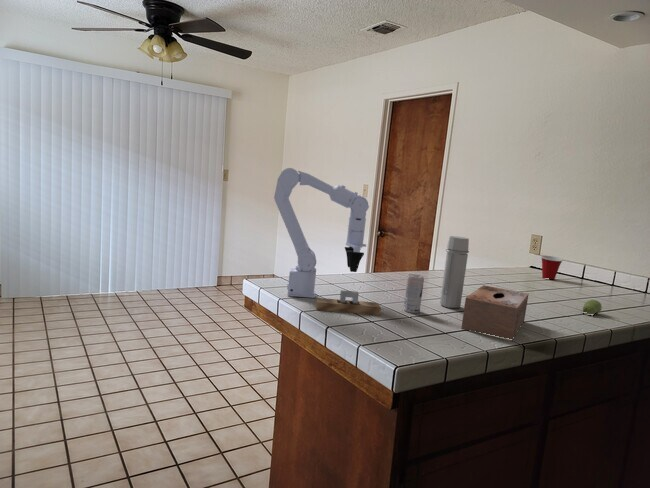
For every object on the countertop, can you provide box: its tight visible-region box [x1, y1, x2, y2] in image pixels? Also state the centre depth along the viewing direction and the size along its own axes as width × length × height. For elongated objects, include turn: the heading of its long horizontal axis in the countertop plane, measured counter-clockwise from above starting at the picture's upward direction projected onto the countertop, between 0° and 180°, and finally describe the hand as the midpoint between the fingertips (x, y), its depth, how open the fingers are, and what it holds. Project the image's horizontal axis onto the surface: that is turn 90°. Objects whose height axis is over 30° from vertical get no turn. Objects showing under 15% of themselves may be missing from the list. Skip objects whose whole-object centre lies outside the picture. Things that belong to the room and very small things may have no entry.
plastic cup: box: [540, 255, 564, 280], centre depth 242 cm, size 11×11×12 cm
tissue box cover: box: [461, 284, 529, 340], centre depth 142 cm, size 26×14×10 cm, turn 149°
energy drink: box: [403, 273, 425, 314], centre depth 149 cm, size 5×5×12 cm
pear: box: [581, 299, 603, 315], centre depth 171 cm, size 6×5×10 cm
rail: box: [315, 297, 382, 316], centre depth 143 cm, size 20×5×2 cm, turn 93°
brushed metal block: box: [339, 289, 360, 305], centre depth 143 cm, size 6×2×6 cm, turn 93°
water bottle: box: [439, 235, 470, 309], centre depth 159 cm, size 9×8×25 cm
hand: (351, 269), depth 157 cm, fingers open, 7 cm apart
